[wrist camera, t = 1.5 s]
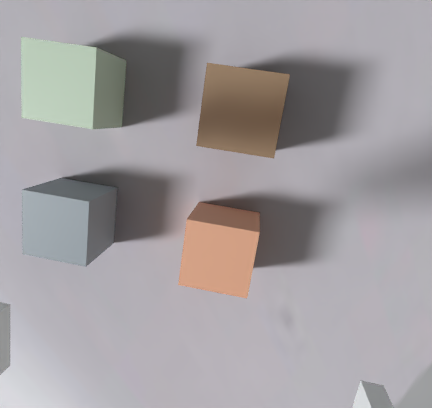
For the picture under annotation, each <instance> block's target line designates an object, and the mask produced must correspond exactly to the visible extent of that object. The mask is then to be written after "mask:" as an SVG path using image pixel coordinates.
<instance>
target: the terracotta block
mask: <svg viewBox="0 0 432 408" xmlns="http://www.w3.org/2000/svg"><path fill="white" fill-rule="evenodd" d="M259 234H260V213H259V212H253V211H248V210H242V209H236V208H231V207H225V206H219V205H213V204H208V203H202V202H199V203H198V204H197V206H196V207H195V209H194V210H193V211H192V213H191V214H190V216H189V217H188V218H187V222H186V230H185V237H184V245H183V253H182V260H181V268H180V276H179V284H178V285H182V286H187V287H192V288H197V289H202V290H207V291H212V292H217V293H222V294H228V295H233V296H238V297H243V298H247V296H248V291H249V286H250V281H251V275H252V270H253V265H254V260H255V255H256V249H257V244H258V239H259Z"/></svg>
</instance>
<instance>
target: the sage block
mask: <svg viewBox="0 0 432 408" xmlns="http://www.w3.org/2000/svg"><path fill="white" fill-rule="evenodd" d="M126 62H127V61H126V60H124V59H122V58H119V57H117V56H115V55H113V54H110V53H108V52H106V51H103V50H101V49H99V48H96V47H89V46H82V45H75V44H68V43H61V42H54V41H46V40H39V39H32V38H25V37H21V94H22V118H26V119H32V120H39V121H45V122H51V123H57V124H63V125H70V126H76V127H82V128H88V129H103V128H118V127H122V119H123V105H124V90H125V76H126Z"/></svg>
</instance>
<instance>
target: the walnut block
mask: <svg viewBox="0 0 432 408" xmlns="http://www.w3.org/2000/svg"><path fill="white" fill-rule="evenodd" d="M289 77H290V74H283V73H276V72H269V71H262V70H255V69H247V68H240V67H233V66H226V65H219V64H212V63H207V67H206V75H205V83H204V91H203V98H202V106H201V114H200V121H199V129H198V137H197V144H196V146H201V147H207V148H213V149H219V150H225V151H232V152H238V153H244V154H250V155H257V156H263V157H269V158H274V155H275V150H276V145H277V140H278V135H279V129H280V124H281V119H282V114H283V109H284V103H285V98H286V93H287V88H288V83H289Z"/></svg>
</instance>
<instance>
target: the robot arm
mask: <svg viewBox="0 0 432 408" xmlns="http://www.w3.org/2000/svg"><path fill="white" fill-rule="evenodd" d="M9 366H10V304H6V303H1V302H0V375H1V374H2V373H3V372H4V371H5V370H6V369H7V368H8V367H9ZM352 408H394V407H393V405H392V403H391V401H390V399H389V396H388V394H387V392H386V390H385V388H384V386H383V385H379V384H374V383H370V382H365V381H360V384H359V388H358V391H357V394H356V397H355V401H354V404H353V407H352Z"/></svg>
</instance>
